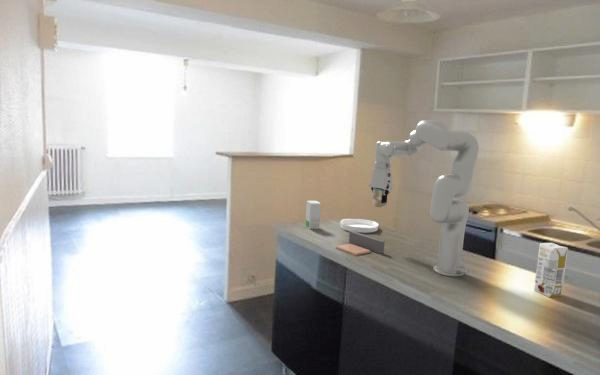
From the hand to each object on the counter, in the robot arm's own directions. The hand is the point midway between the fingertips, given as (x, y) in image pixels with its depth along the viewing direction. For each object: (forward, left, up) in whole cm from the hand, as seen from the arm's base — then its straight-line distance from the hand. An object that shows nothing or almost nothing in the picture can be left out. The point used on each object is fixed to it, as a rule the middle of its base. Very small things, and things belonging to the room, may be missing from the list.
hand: (379, 201), depth 216 cm
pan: (+31, -19, -24) cm, 43 cm away
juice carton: (-79, -9, -23) cm, 83 cm away
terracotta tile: (0, +17, -23) cm, 29 cm away
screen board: (0, +8, -23) cm, 24 cm away
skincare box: (+46, +5, -23) cm, 52 cm away
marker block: (0, 0, -3) cm, 3 cm away
